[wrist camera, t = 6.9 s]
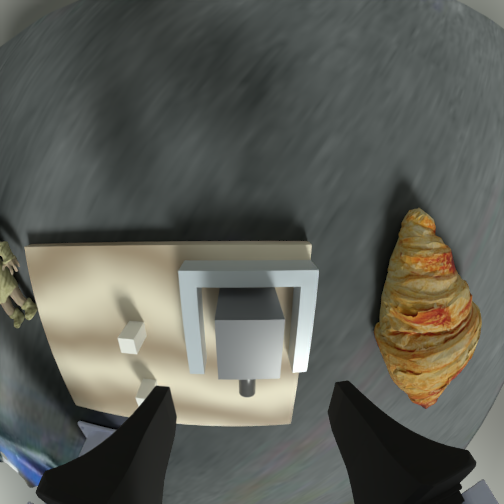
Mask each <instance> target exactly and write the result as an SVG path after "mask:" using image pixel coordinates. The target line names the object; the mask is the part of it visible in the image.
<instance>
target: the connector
mask: <svg viewBox="0 0 504 504" xmlns="http://www.w3.org/2000/svg"><path fill="white" fill-rule="evenodd" d="M284 326H285V318H284V315H283V311H282V308H281V305H280V302H279V299H278V296H277V293H276V290H275V287H245V288H220V289H219V295H218V301H217V308H216V314H215V336H216V353H217V367H218V379H223V380H239V394H240V395H241V396H243V397H252V396H253V395H254V394H255V387H256V379H278V378H280V372H281V361H282V350H283V339H284Z"/></svg>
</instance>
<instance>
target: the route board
mask: <svg viewBox="0 0 504 504" xmlns="http://www.w3.org/2000/svg"><path fill="white" fill-rule="evenodd" d="M311 246H312V245H311V244H310V243H309V242H308V241H162V242H95V243H50V244H30V245H28V246H26V247H24V248H25V254H26V260H27V265H28V270H29V275H30V279H31V284H32V288H33V292H34V296H35V300H36V304H37V307H38V311H39V314H40V318H41V321H42V324H43V327H44V330H45V333H46V336H47V339H48V342H49V345H50V347H51V350H52V353H53V355H54V358H55V360H56V363H57V365H58V368H59V370H60V372H61V375H62V377H63V379H64V381H65V384H66V386H67V388H68V390H69V392H70V394H71V396H72V398H73V400H74V402H75V404H76V405H77V406H81V407H85V408H89V409H93V410H97V411H101V412H106V413H110V414H115V415H120V416H126V417H130V416H131V415H132V414H133V413H134V411H135V410H136V409H137V408H138V407H139V406H138V404H137V401H136V398H135V397H136V395H137V392H138V390H139V387H140V385H141V382H142V380H143V378H144V379H153V380H157V383H158V386H168V387H170V390H171V394H172V399H173V403H174V407H175V410H176V414H177V421H176V423H177V424H189V425H205V426H264V425H280V424H291V419H292V413H293V407H294V401H295V394H296V388H297V381H298V374H299V372H296V373H292V369H291V365H290V362H289V358H288V351H289V340H290V329H291V317H292V304H293V290H294V287H275V290H276V293H277V296H278V299H279V302H280V305H281V308H282V311H283V315H284V318H285V326H284V339H283V350H282V361H281V372H280V378H278V379H256V387H255V394H254V395H253V396H252V397H243V396H241V395H240V394H239V380H223V379H218V367H217V353H216V336H215V314H216V308H217V301H218V295H219V289H220V288H207V287H202V302H203V317H204V329H205V341H206V352H207V360H206V367H205V374H190V370H189V364H188V357H187V350H186V342H185V334H184V326H183V317H182V308H181V298H180V287H179V275H178V270H179V269H180V267H181V265H182V264H183V262H184V261H185V260H311ZM129 321H139V322H144V324H145V329H146V335H147V336H146V338H145V340H144V342H143V344H142V346H141V348H140V350H139V352H138V354H128V353H121V350H120V346H119V342H118V337H119V335H120V334H121V332H122V331H123V329H124V328H125V326H126V325H127V323H128V322H129Z"/></svg>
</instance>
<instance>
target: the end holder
mask: <svg viewBox="0 0 504 504" xmlns="http://www.w3.org/2000/svg"><path fill="white" fill-rule="evenodd" d="M178 275H179V287H180V298H181V308H182V317H183V326H184V334H185V342H186V350H187V357H188V364H189V370H190V374H205V367H206V360H207V352H206V341H205V329H204V317H203V302H202V287H207V288H245V287H294V290H293V304H292V317H291V329H290V340H289V351H288V358H289V362H290V365H291V369H292V373H296V372H307V366H308V359H309V352H310V345H311V338H312V330H313V322H314V314H315V305H316V296H317V286H318V276H319V269H318V268H317V267H316V266H315V265H314V263H313V262H312V261H311V260H185V261H184V262H183V264H182V265H181V267H180V269H179V270H178Z"/></svg>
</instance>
